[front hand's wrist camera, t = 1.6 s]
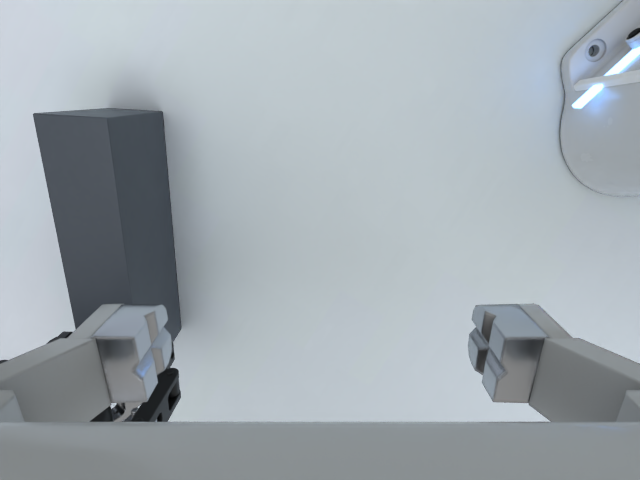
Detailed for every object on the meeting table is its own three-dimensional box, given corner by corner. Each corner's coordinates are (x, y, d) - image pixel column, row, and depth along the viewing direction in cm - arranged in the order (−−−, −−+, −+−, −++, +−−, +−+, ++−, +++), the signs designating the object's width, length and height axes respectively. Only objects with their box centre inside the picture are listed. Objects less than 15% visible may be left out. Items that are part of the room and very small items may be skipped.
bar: (107, 108, 35) (32, 113, 26) (162, 111, 35) (107, 117, 26) (136, 326, 43) (86, 387, 34) (181, 329, 43) (143, 390, 34)
